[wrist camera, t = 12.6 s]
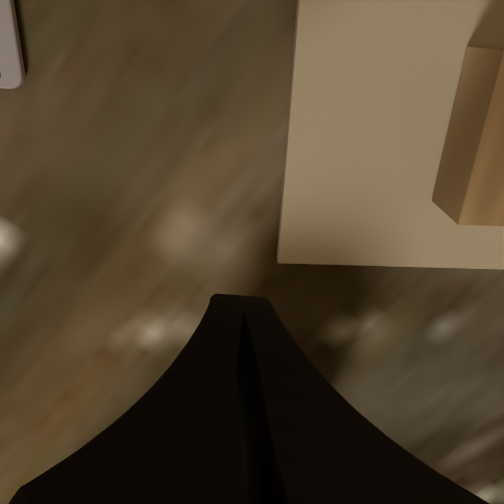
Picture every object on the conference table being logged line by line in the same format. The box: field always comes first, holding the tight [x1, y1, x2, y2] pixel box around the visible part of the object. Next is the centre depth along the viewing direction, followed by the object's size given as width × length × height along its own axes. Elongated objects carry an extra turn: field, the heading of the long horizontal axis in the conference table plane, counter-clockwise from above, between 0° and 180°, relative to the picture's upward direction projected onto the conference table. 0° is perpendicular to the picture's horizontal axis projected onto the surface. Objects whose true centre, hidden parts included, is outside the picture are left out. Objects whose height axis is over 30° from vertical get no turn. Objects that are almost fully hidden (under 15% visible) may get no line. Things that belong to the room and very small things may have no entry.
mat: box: [277, 0, 504, 269], centre depth 19 cm, size 14×12×1 cm
